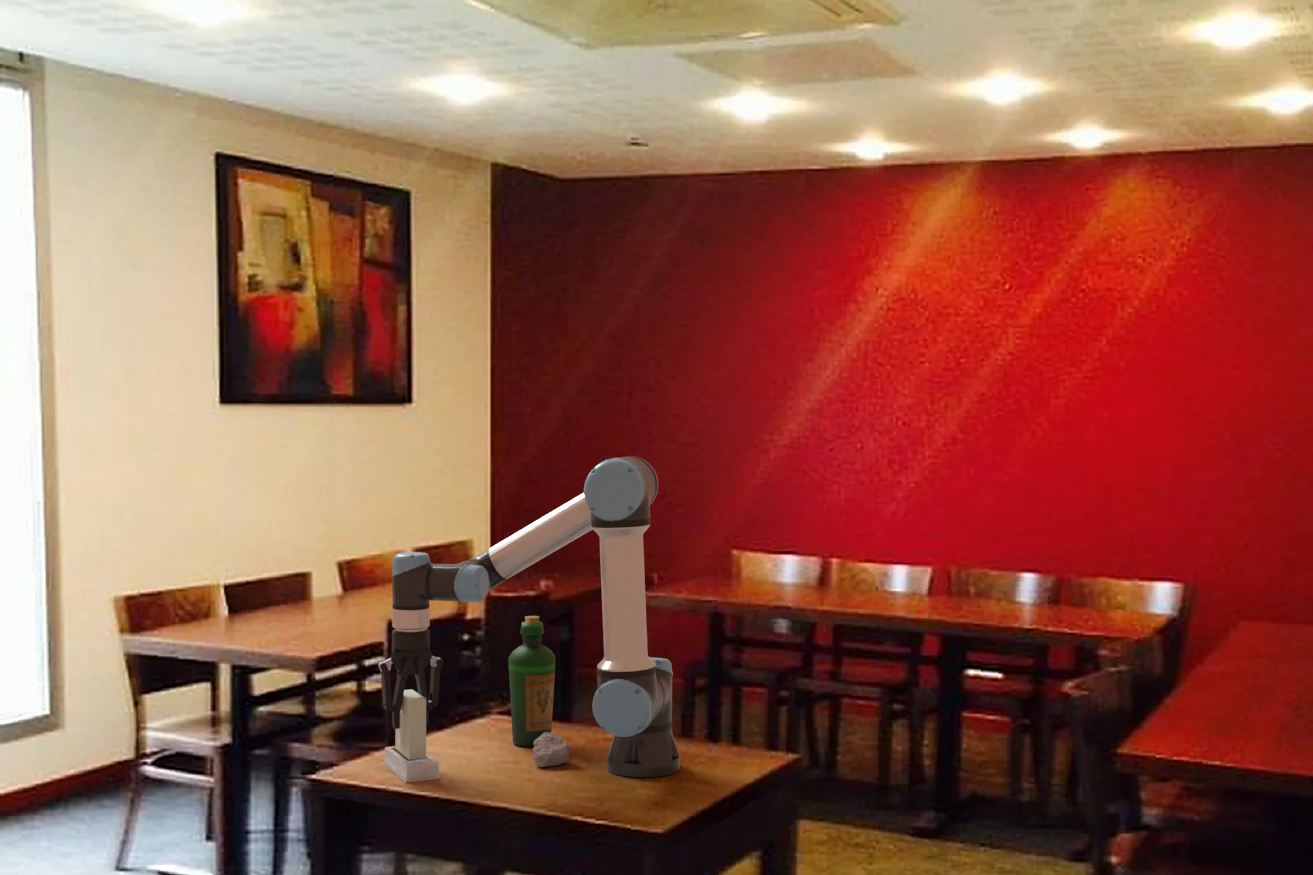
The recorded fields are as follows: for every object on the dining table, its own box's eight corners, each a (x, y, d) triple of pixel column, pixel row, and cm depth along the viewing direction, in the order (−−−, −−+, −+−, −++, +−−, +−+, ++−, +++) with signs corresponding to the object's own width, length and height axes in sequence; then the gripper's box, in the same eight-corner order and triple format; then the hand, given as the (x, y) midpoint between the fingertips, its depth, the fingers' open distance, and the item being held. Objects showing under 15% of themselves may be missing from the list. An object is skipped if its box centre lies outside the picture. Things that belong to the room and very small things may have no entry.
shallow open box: (439, 778, 297) (439, 761, 297) (405, 782, 294) (405, 765, 294) (416, 760, 312) (416, 744, 312) (383, 764, 309) (383, 747, 309)
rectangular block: (426, 757, 299) (426, 698, 299) (409, 759, 298) (409, 700, 297) (411, 746, 308) (411, 689, 308) (395, 748, 307) (395, 690, 306)
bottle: (548, 750, 321) (548, 621, 320) (501, 747, 323) (501, 619, 322) (561, 738, 332) (561, 614, 331) (515, 736, 334) (515, 612, 333)
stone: (522, 759, 314) (522, 731, 314) (558, 755, 317) (558, 728, 317) (536, 770, 305) (536, 742, 305) (573, 766, 308) (573, 739, 308)
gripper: (444, 623, 309) (444, 735, 310) (365, 628, 302) (365, 742, 303) (455, 628, 302) (455, 743, 303) (375, 634, 295) (375, 751, 296)
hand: (410, 742), depth 303 cm, fingers closed on rectangular block, 3 cm apart
